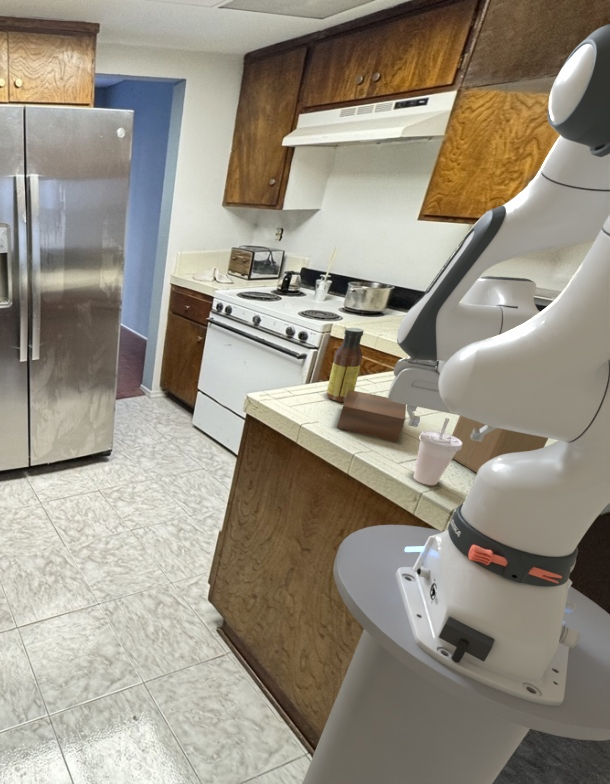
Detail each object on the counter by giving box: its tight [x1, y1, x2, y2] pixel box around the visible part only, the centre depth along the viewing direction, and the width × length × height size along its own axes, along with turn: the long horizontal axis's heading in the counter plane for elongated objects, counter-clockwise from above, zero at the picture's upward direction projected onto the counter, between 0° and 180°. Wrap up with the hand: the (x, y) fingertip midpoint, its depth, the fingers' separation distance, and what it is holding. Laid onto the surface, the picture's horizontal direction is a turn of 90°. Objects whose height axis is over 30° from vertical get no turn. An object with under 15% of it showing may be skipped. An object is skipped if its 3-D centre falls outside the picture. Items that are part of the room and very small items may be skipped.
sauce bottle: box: [326, 327, 365, 403], centre depth 126 cm, size 6×6×20 cm
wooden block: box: [451, 415, 549, 474], centre depth 95 cm, size 10×10×20 cm
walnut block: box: [336, 390, 407, 443], centre depth 114 cm, size 12×12×6 cm
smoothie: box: [413, 417, 463, 486], centre depth 92 cm, size 6×6×14 cm
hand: (443, 432), depth 90 cm, fingers open, 8 cm apart
